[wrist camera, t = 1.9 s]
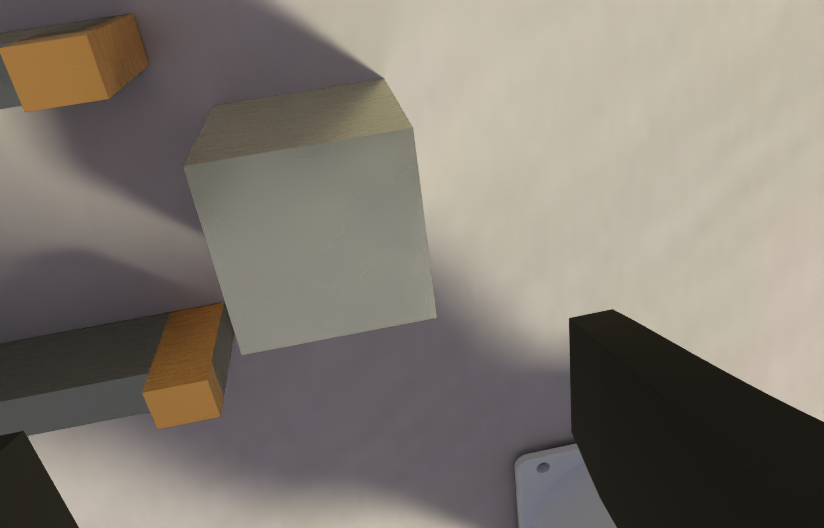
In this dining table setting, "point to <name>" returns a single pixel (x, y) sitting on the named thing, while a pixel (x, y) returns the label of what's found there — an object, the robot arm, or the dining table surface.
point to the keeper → (117, 342)
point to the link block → (313, 214)
